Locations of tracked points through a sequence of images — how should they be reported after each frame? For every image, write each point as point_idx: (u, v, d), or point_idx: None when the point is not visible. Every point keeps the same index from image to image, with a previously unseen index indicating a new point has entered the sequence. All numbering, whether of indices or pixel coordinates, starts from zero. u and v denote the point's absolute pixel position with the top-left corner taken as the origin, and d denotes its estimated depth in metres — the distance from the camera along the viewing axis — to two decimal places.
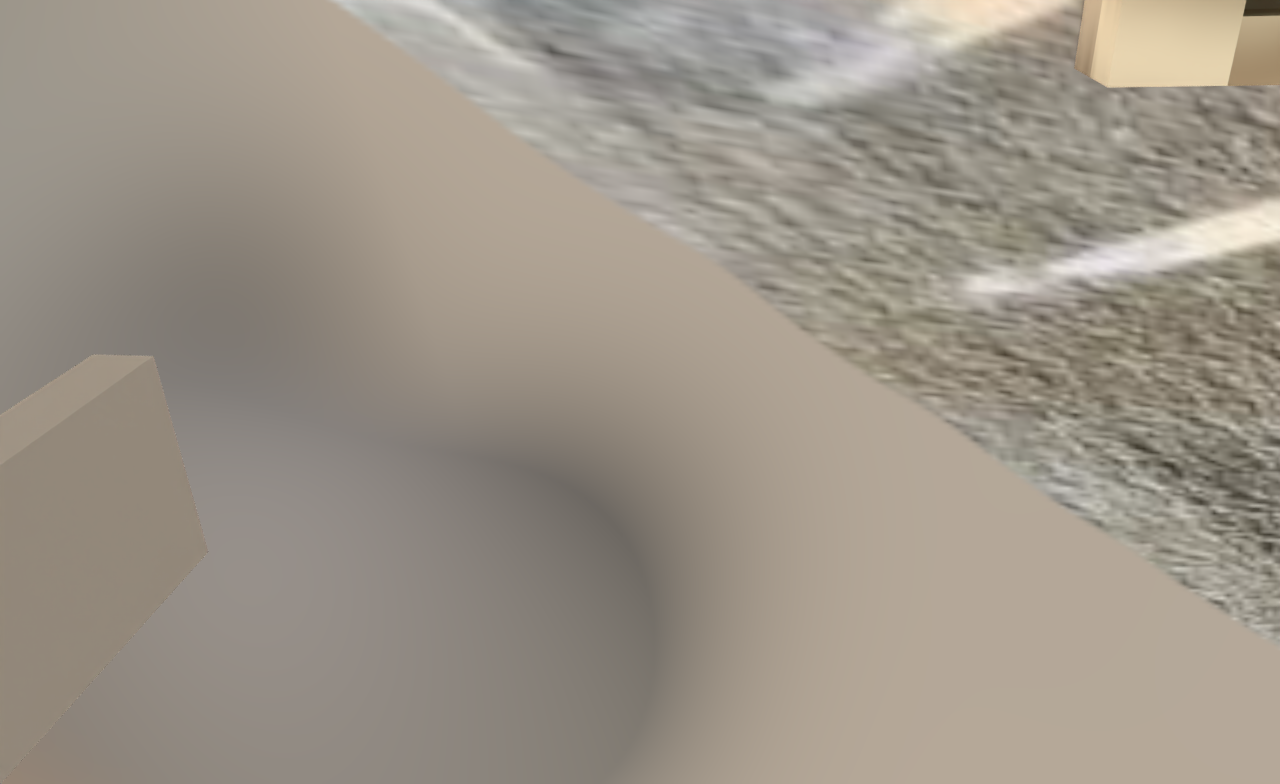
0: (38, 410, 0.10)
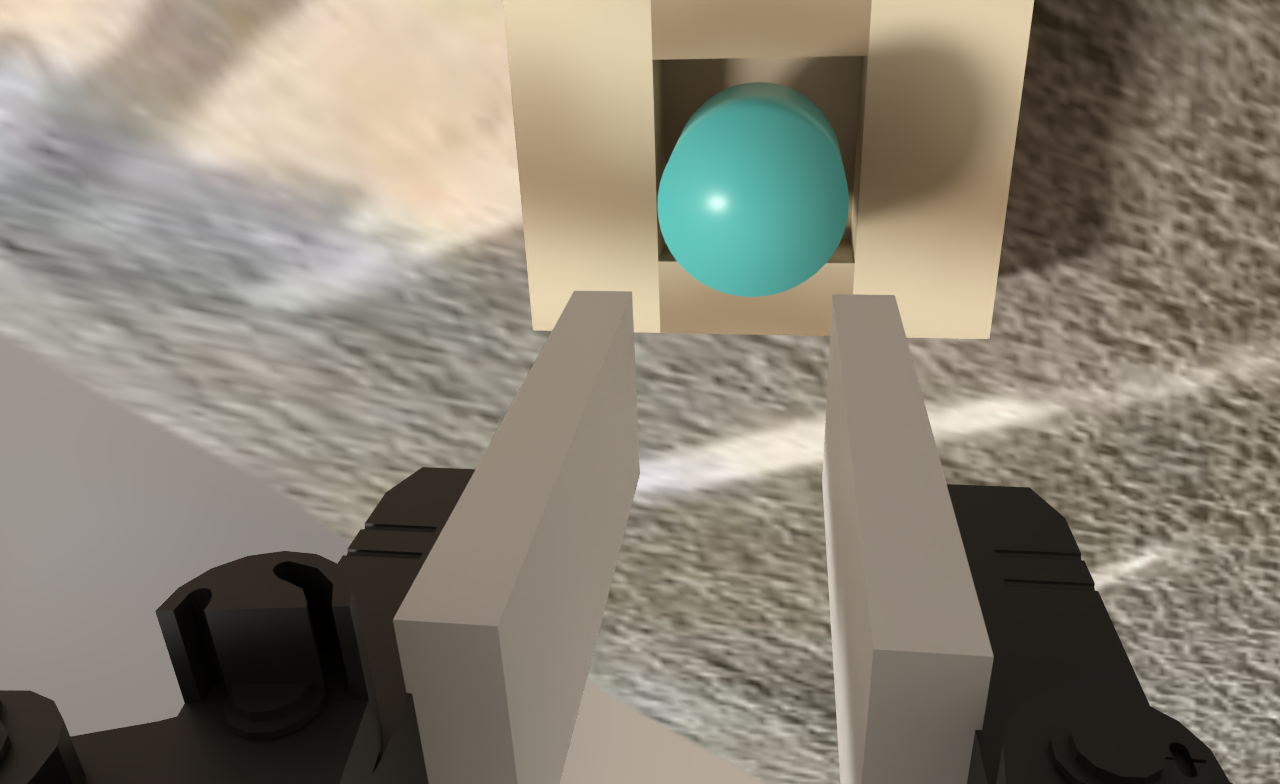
0: (579, 332, 0.11)
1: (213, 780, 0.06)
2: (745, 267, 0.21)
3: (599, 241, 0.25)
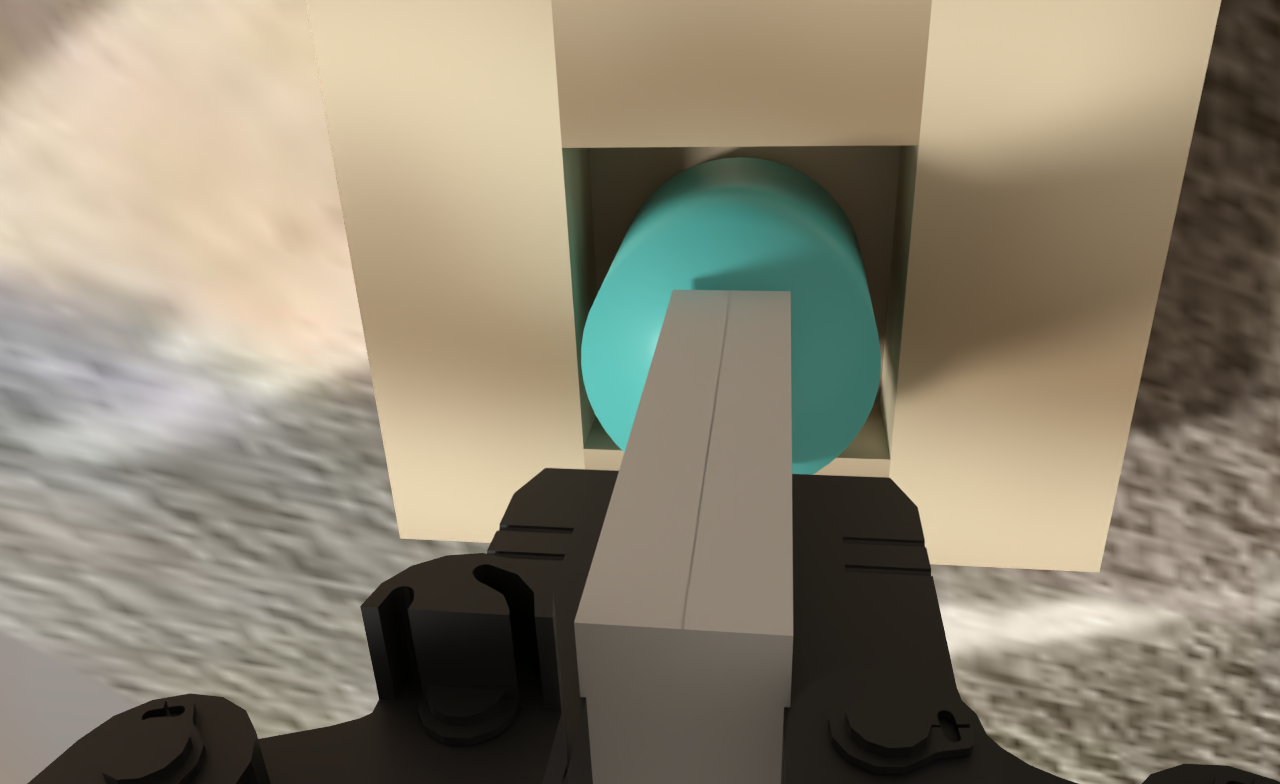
0: (688, 332, 0.11)
1: (409, 783, 0.06)
2: None
3: (491, 417, 0.16)
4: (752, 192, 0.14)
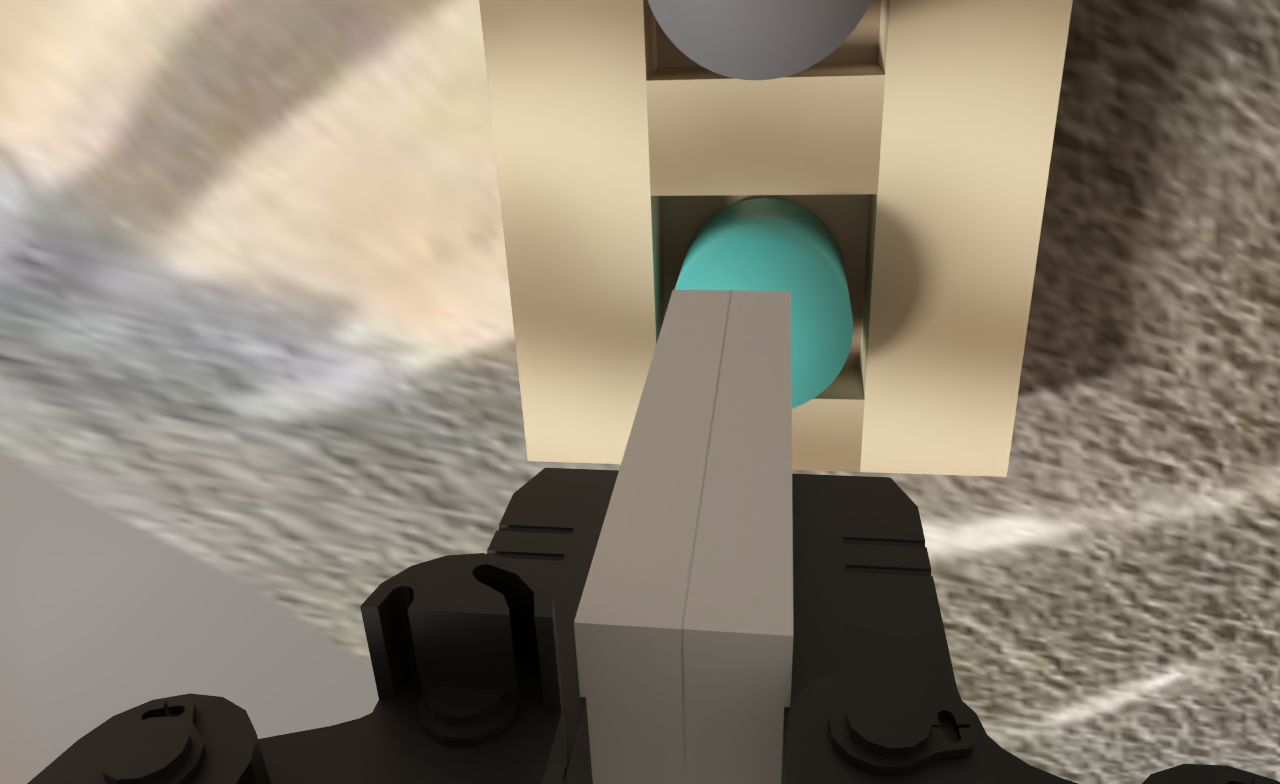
0: (688, 332, 0.11)
1: (409, 783, 0.06)
2: None
3: (596, 374, 0.24)
4: (773, 222, 0.22)
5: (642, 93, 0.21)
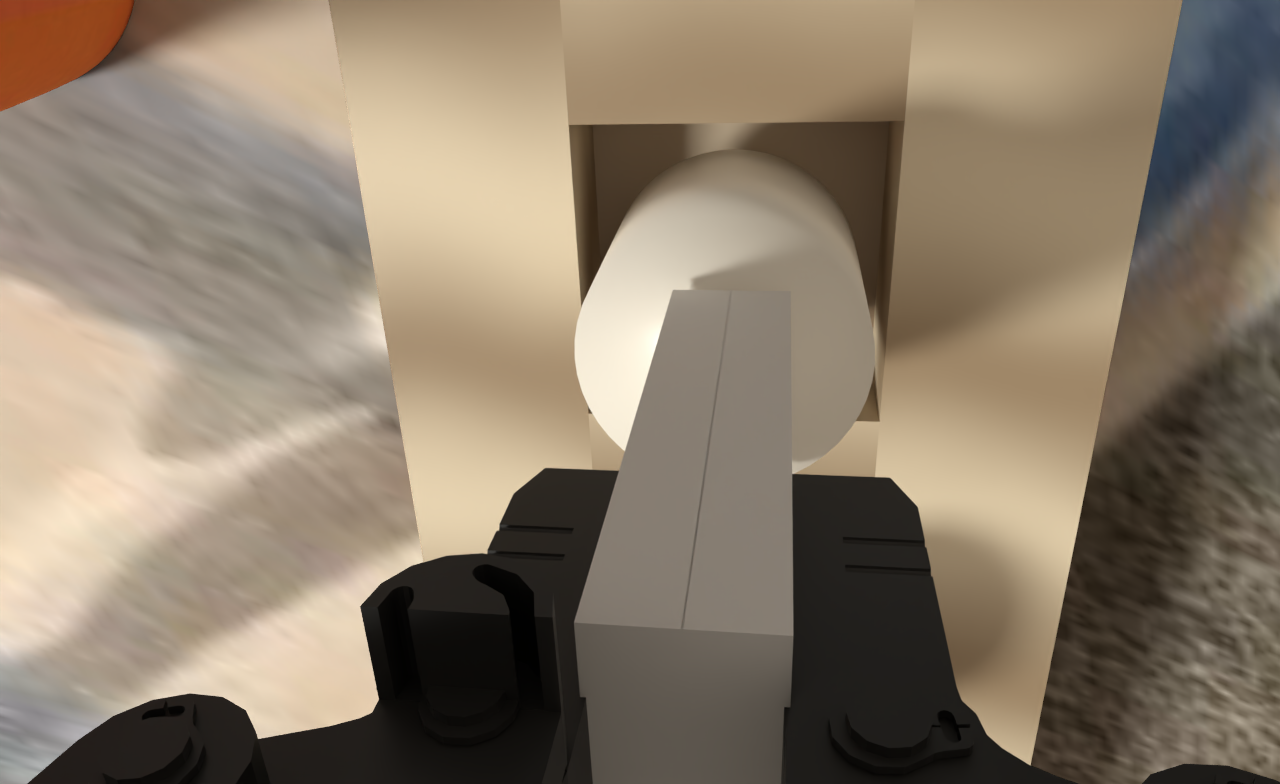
0: (688, 331, 0.11)
1: (409, 783, 0.06)
2: None
3: None
4: None
5: None
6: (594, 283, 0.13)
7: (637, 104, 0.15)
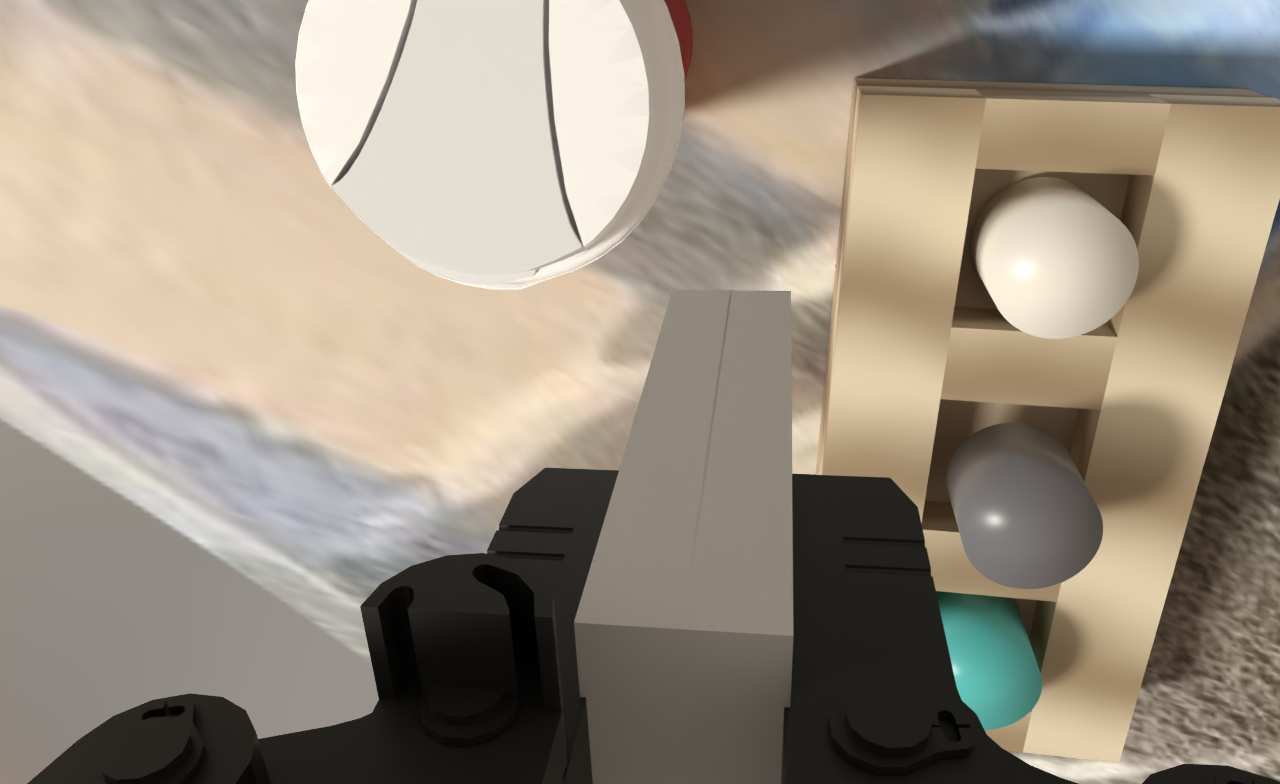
0: (688, 331, 0.11)
1: (409, 783, 0.06)
2: None
3: None
4: (990, 613, 0.35)
5: None
6: (1009, 233, 0.28)
7: (1015, 160, 0.29)
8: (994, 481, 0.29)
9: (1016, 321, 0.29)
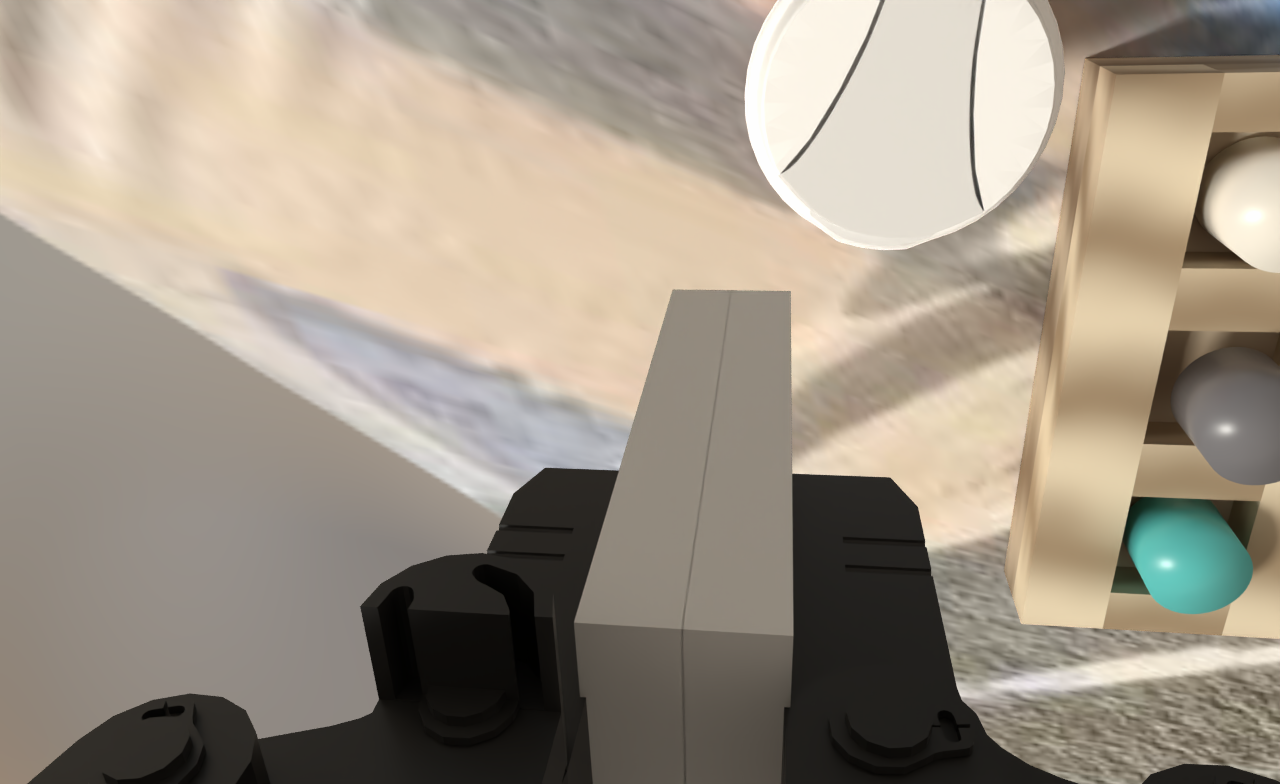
0: (688, 332, 0.11)
1: (409, 783, 0.06)
2: (1189, 600, 0.41)
3: (1076, 580, 0.43)
4: (1202, 514, 0.40)
5: (1139, 449, 0.40)
6: (1249, 186, 0.33)
7: (1246, 123, 0.34)
8: (1234, 395, 0.35)
9: (1251, 259, 0.34)
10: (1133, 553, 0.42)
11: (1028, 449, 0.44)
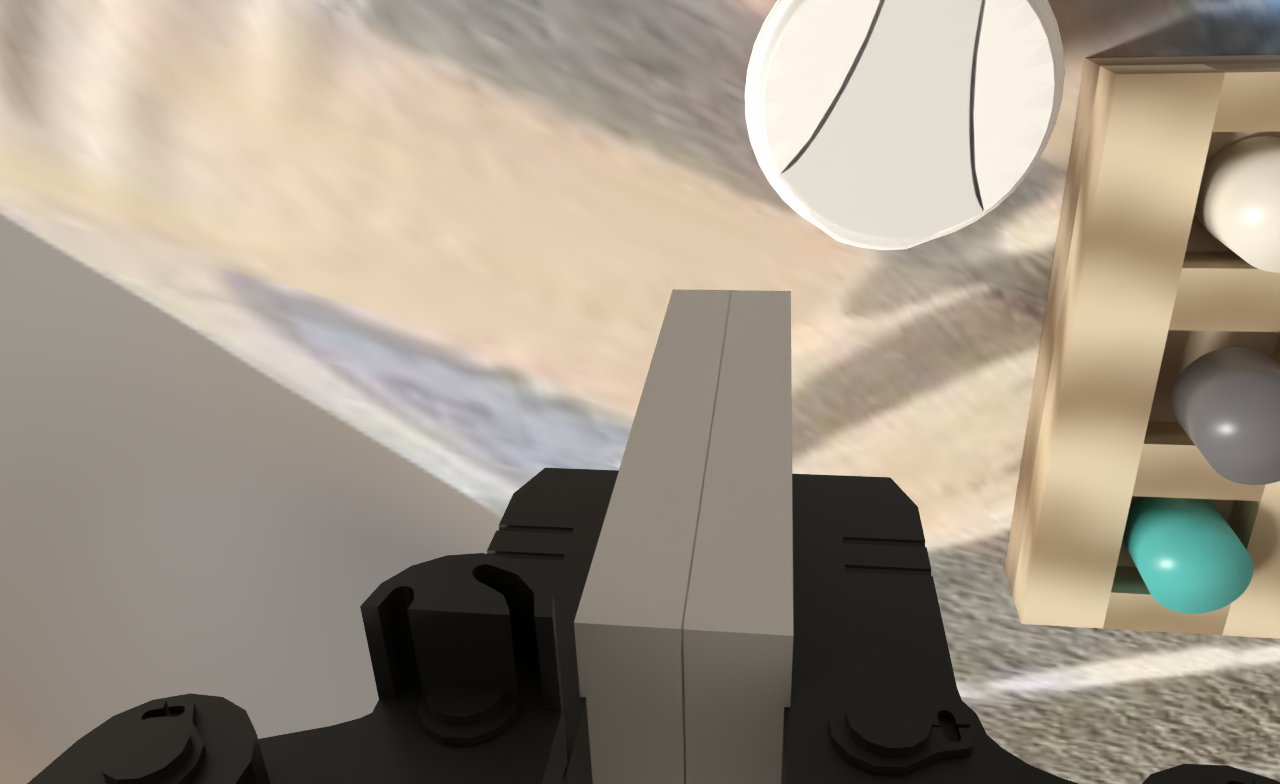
0: (688, 332, 0.11)
1: (409, 783, 0.06)
2: (1189, 600, 0.41)
3: (1076, 580, 0.43)
4: (1202, 514, 0.40)
5: (1139, 449, 0.40)
6: (1249, 185, 0.33)
7: (1246, 123, 0.34)
8: (1234, 395, 0.35)
9: (1251, 259, 0.34)
10: (1133, 553, 0.42)
11: (1028, 449, 0.44)
